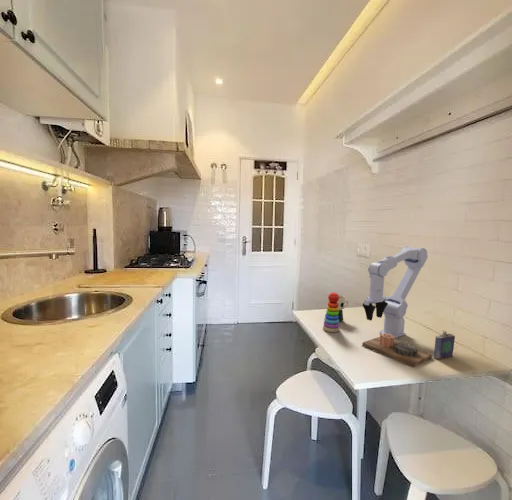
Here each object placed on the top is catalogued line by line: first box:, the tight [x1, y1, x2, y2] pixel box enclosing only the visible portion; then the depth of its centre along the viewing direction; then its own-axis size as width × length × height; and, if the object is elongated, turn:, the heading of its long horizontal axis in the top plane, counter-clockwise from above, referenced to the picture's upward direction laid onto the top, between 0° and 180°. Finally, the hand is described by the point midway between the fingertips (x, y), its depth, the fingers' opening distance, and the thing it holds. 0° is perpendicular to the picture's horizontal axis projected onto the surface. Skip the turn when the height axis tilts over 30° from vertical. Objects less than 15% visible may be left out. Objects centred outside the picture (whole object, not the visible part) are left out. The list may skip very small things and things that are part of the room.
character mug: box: [327, 294, 349, 322], centre depth 161 cm, size 11×7×13 cm, turn 88°
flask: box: [433, 330, 456, 360], centre depth 120 cm, size 9×3×11 cm, turn 109°
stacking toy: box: [322, 292, 340, 333], centre depth 147 cm, size 8×8×19 cm
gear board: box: [361, 335, 433, 368], centre depth 124 cm, size 14×22×6 cm, turn 35°
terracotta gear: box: [379, 333, 396, 347], centre depth 128 cm, size 6×6×4 cm
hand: (374, 318), depth 137 cm, fingers open, 7 cm apart
